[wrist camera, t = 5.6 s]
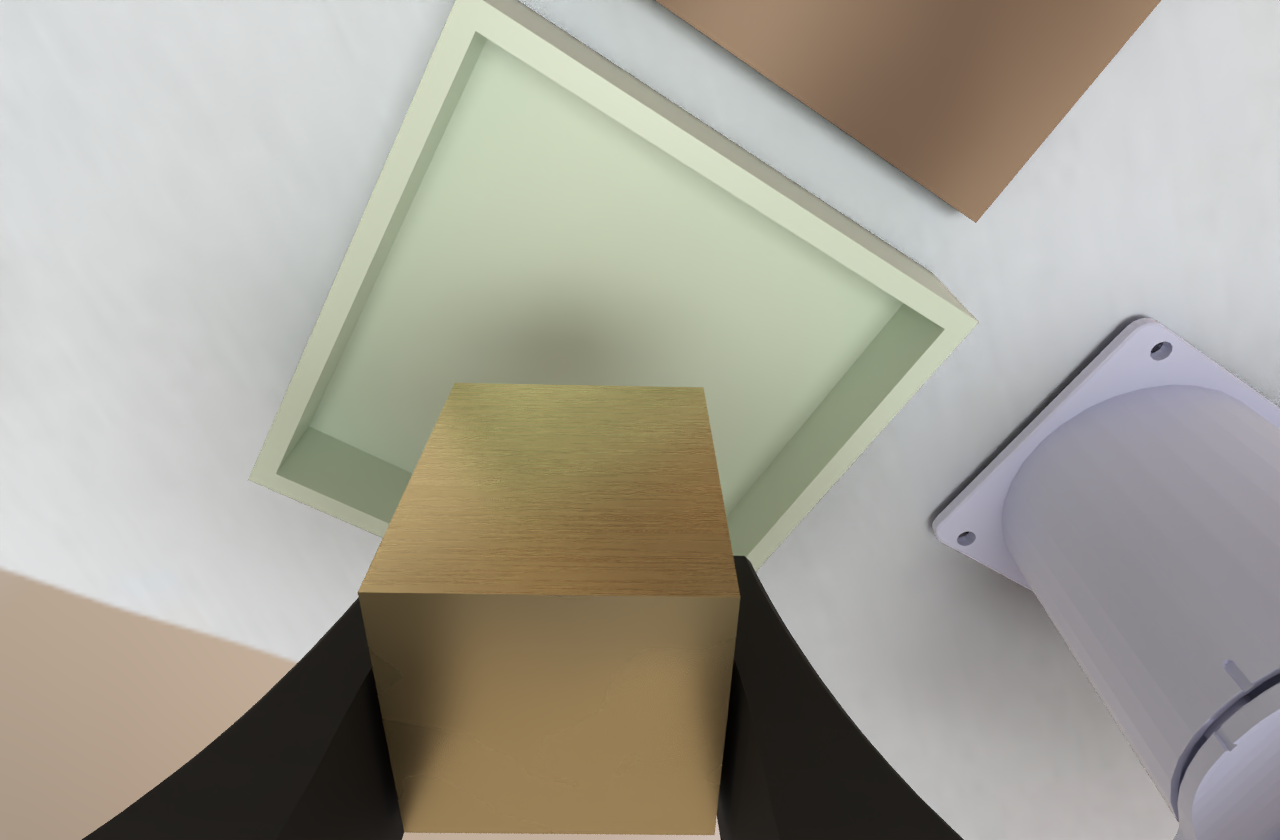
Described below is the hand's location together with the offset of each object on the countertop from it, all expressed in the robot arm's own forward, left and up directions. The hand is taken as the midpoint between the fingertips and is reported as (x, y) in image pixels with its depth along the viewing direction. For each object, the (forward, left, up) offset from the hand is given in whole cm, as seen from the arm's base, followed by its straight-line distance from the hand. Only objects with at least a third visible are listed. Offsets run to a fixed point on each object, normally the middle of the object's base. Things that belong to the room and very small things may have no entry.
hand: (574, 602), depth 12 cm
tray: (0, 0, -9) cm, 9 cm away
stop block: (0, -1, -2) cm, 2 cm away
